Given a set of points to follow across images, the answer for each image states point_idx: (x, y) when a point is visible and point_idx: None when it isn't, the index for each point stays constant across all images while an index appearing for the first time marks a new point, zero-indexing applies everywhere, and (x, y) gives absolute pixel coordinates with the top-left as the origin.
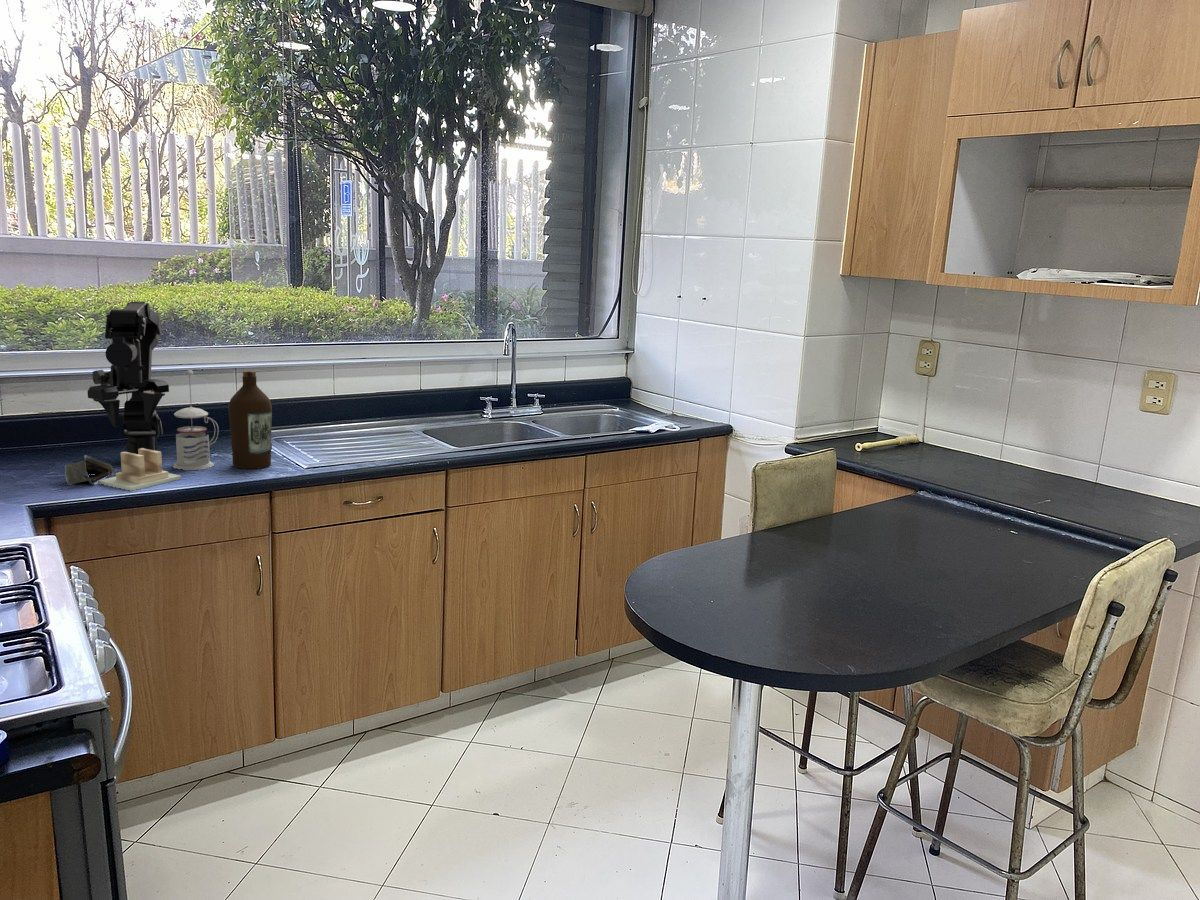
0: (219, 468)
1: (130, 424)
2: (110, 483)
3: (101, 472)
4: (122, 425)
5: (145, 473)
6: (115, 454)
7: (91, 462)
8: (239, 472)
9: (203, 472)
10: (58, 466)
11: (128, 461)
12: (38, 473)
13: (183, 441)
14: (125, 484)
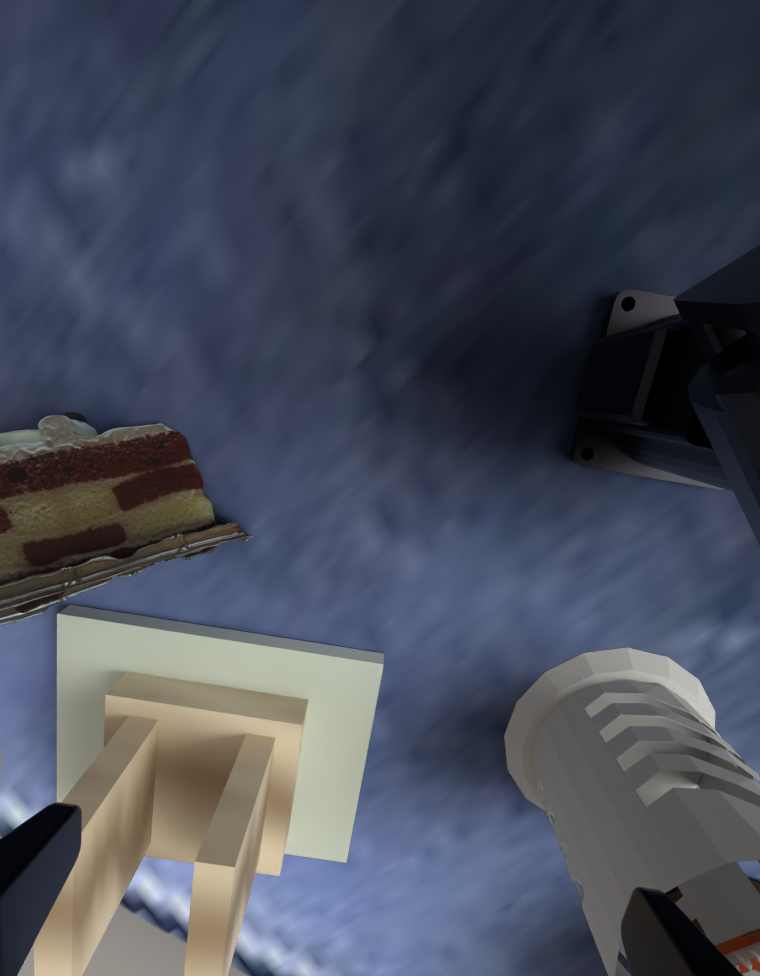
0: None
1: (736, 466)
2: (58, 698)
3: (199, 496)
4: (733, 319)
5: (189, 815)
6: (716, 118)
7: (7, 584)
8: (562, 967)
9: (497, 854)
10: (237, 49)
11: None
12: (30, 101)
13: (598, 930)
14: (83, 768)
